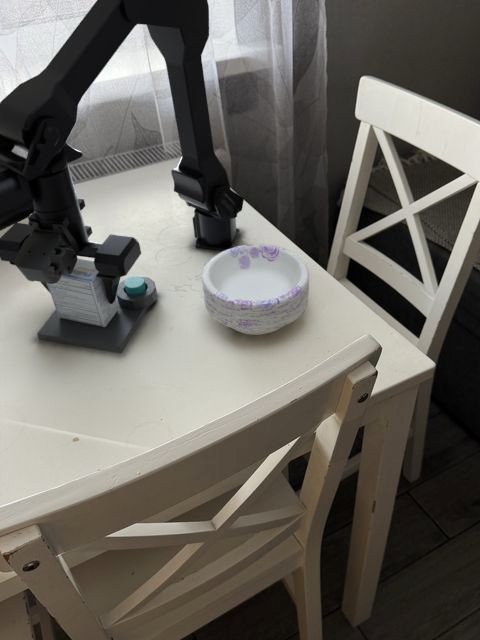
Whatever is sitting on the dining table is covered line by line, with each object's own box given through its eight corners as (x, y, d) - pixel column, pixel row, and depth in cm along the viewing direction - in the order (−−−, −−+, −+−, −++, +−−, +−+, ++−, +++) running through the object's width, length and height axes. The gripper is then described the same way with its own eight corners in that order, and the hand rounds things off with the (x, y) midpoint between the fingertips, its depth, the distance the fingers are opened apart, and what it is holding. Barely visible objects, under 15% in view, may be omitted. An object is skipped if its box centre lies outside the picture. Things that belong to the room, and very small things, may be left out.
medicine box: (120, 310, 89) (108, 262, 83) (105, 329, 86) (91, 281, 80) (74, 300, 91) (59, 253, 85) (58, 318, 88) (41, 271, 82)
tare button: (149, 285, 91) (147, 277, 90) (141, 297, 89) (139, 289, 88) (130, 282, 91) (129, 274, 90) (122, 294, 89) (120, 286, 88)
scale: (163, 294, 93) (161, 279, 91) (127, 354, 84) (123, 338, 82) (83, 282, 96) (78, 267, 94) (39, 339, 86) (33, 324, 84)
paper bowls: (281, 273, 96) (281, 231, 91) (326, 330, 86) (328, 286, 81) (192, 299, 92) (186, 256, 87) (228, 361, 82) (224, 317, 77)
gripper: (-49, 226, 72) (-5, 324, 82) (92, 244, 68) (119, 344, 79) (3, 182, 79) (36, 277, 90) (132, 196, 76) (151, 293, 86)
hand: (83, 297), depth 86 cm, fingers open, 9 cm apart
